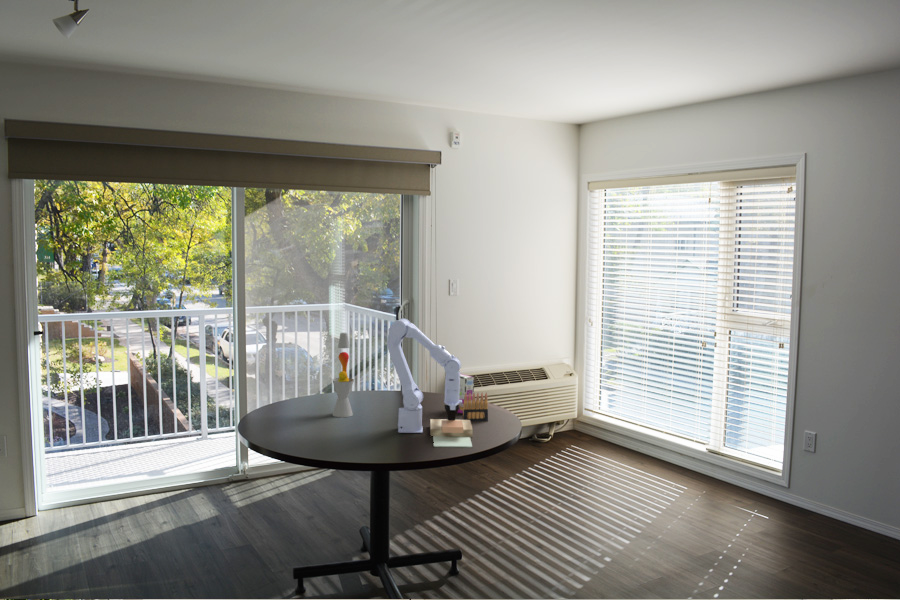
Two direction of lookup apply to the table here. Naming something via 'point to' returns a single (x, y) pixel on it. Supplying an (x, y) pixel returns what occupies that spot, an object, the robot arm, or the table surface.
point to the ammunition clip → (473, 412)
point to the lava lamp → (343, 382)
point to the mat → (451, 441)
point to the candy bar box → (465, 390)
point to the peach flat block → (452, 426)
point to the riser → (437, 431)
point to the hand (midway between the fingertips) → (451, 423)
